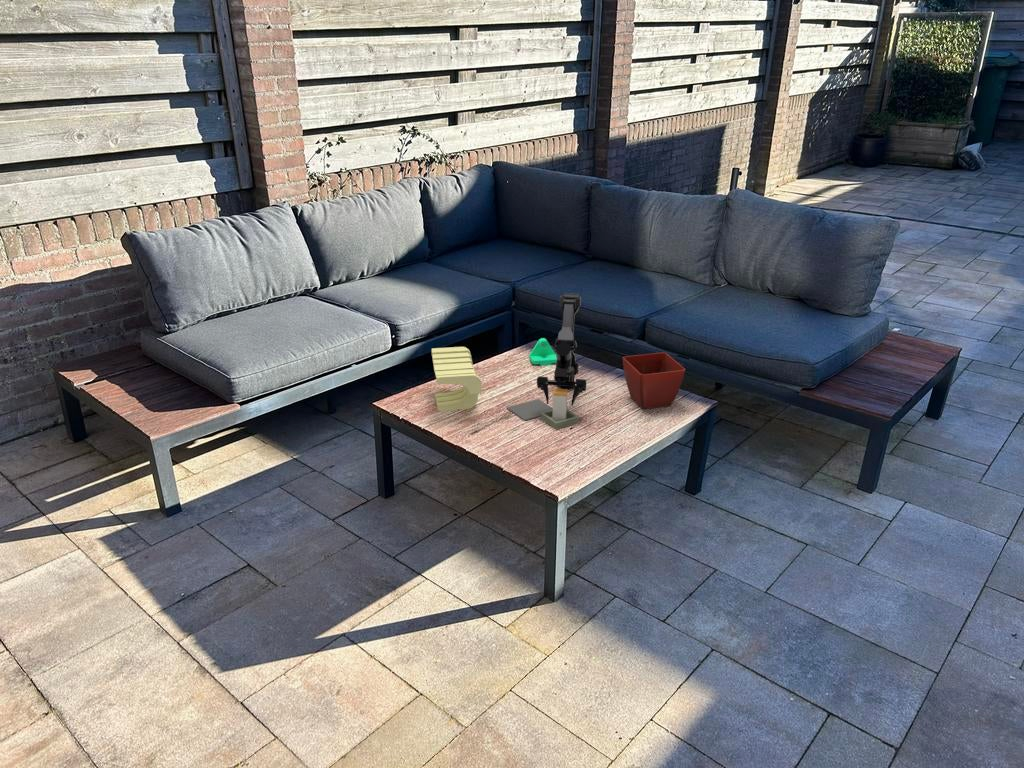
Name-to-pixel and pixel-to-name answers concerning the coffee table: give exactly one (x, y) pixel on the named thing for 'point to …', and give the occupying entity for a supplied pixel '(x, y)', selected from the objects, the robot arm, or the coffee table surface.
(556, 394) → the block
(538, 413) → the rubber mat
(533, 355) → the camera mount
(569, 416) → the case bay
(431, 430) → the coffee table surface
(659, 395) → the plant pot
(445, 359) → the slatted curved stool
